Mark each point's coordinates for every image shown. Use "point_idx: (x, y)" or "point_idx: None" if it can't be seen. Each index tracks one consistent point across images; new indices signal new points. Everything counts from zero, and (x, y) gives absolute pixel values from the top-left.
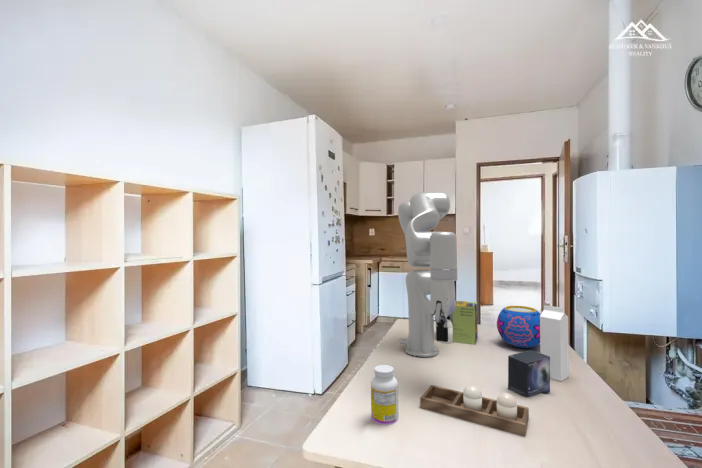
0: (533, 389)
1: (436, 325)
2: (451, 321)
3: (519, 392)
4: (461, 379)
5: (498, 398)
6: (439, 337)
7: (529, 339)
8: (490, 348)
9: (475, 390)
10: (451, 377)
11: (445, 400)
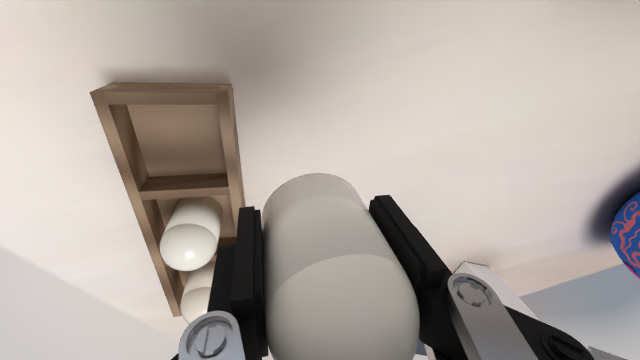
0: None
1: (185, 341)
2: (425, 347)
3: None
4: (396, 132)
5: (189, 302)
6: (220, 253)
7: (623, 250)
8: (632, 147)
9: (175, 268)
10: (401, 101)
11: (215, 140)
